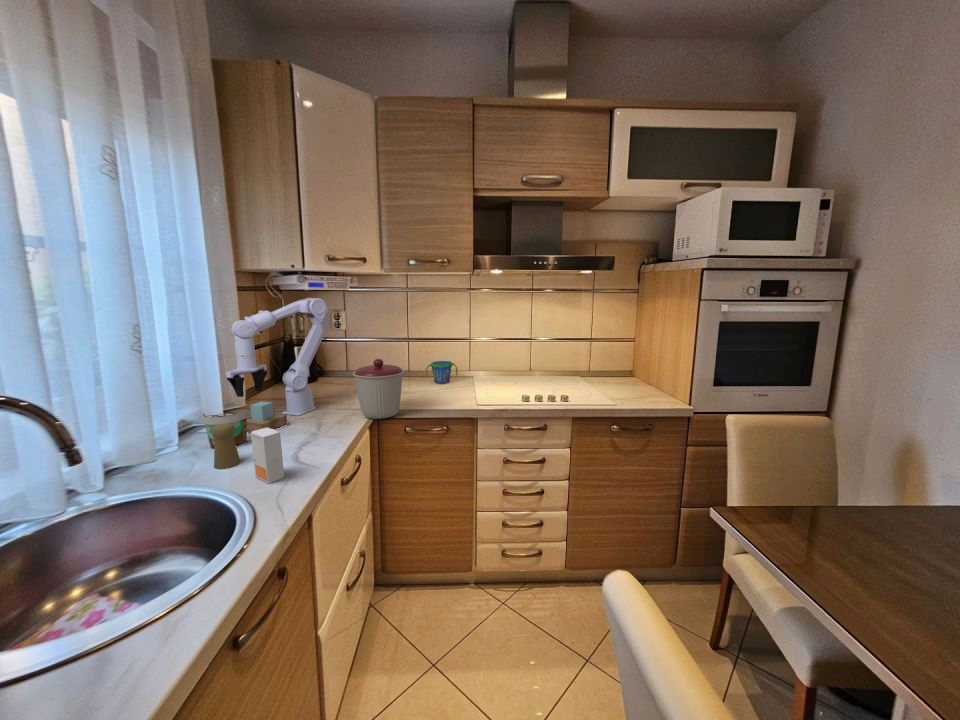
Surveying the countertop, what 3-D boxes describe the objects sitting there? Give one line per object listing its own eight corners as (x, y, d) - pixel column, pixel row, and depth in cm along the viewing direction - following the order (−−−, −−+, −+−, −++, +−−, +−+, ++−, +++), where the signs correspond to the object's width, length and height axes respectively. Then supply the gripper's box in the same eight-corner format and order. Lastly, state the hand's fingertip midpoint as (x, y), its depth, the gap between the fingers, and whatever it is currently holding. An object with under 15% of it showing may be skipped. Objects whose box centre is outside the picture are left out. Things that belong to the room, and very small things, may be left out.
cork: (211, 464, 105) (206, 424, 103) (237, 457, 109) (232, 419, 107) (216, 471, 101) (211, 430, 99) (243, 464, 105) (238, 424, 103)
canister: (347, 422, 138) (343, 363, 135) (365, 407, 156) (362, 354, 152) (398, 423, 137) (395, 363, 133) (410, 408, 155) (409, 355, 151)
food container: (197, 453, 112) (192, 419, 110) (205, 445, 118) (201, 413, 116) (245, 448, 115) (242, 415, 114) (251, 441, 121) (248, 409, 120)
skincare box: (254, 478, 97) (249, 431, 95) (271, 471, 101) (267, 426, 99) (268, 484, 94) (263, 436, 92) (285, 477, 98) (280, 431, 95)
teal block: (262, 415, 134) (261, 401, 133) (273, 416, 133) (272, 402, 132) (251, 419, 130) (250, 405, 129) (263, 421, 129) (261, 406, 128)
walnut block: (265, 423, 139) (264, 412, 138) (287, 426, 136) (286, 415, 135) (239, 432, 130) (238, 421, 129) (262, 436, 126) (261, 424, 126)
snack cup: (425, 385, 192) (424, 364, 191) (427, 380, 203) (427, 360, 201) (457, 385, 193) (457, 364, 191) (458, 380, 203) (457, 360, 201)
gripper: (235, 359, 128) (240, 400, 130) (271, 352, 141) (275, 389, 144) (219, 358, 130) (224, 398, 132) (256, 351, 143) (260, 388, 146)
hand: (249, 393), depth 138 cm, fingers open, 7 cm apart
